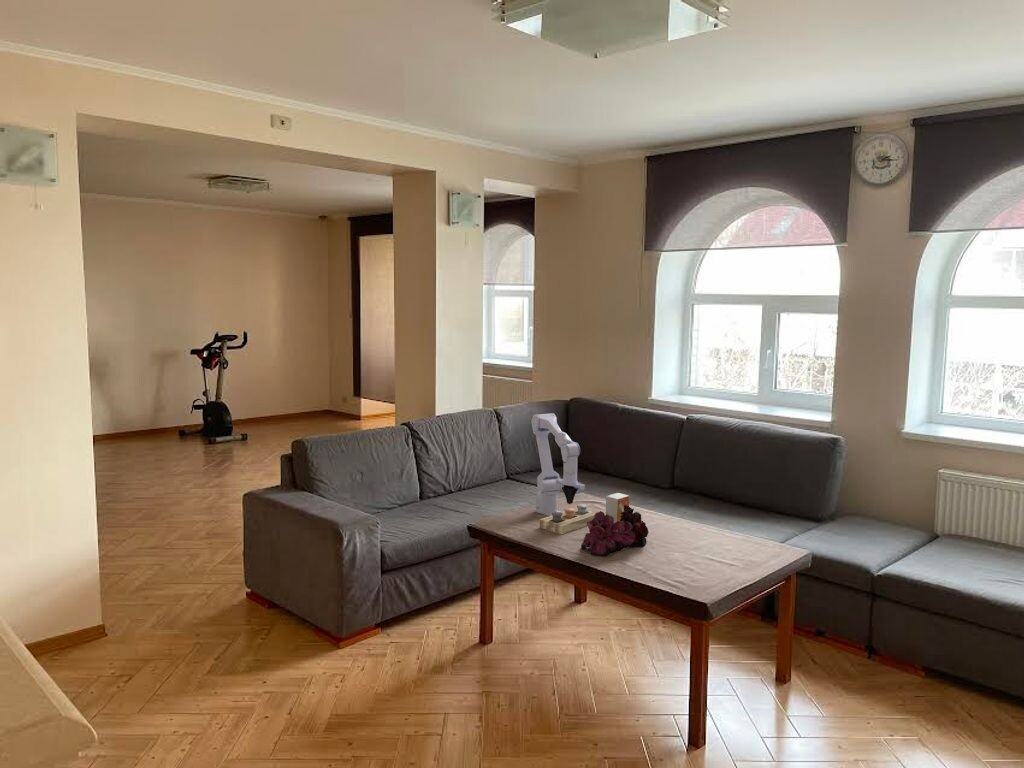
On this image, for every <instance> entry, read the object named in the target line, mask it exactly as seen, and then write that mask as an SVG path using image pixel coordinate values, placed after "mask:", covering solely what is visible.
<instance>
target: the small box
mask: <svg viewBox="0 0 1024 768" xmlns="http://www.w3.org/2000/svg"><path fill="white" fill-rule="evenodd" d="M624 505H627V506H629V507H630V495H629V494H624V493H619V492H615V493H611V494H609V495H606V496H605V515H607V514H608V515H609V516H612V517H613V519H614V522H613V523H616V522H617V521H620V519H621V518H620V517H621V516H622V515H621V514H620V513H621V512H624Z"/></svg>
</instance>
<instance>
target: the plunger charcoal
mask: <svg viewBox="0 0 1024 768" xmlns="http://www.w3.org/2000/svg"><path fill="white" fill-rule="evenodd" d="M552 516H553V522H555V523H560V522H561V516H562V512H553V513H552Z"/></svg>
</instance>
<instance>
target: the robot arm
mask: <svg viewBox="0 0 1024 768" xmlns="http://www.w3.org/2000/svg"><path fill="white" fill-rule="evenodd" d="M557 420H558V418H557V416H556V414H555V413H553V412H551V413H550V412H549V413H541V414H539V413H538V414H537V413H536V414H533V416H532V418H531V421H530V422H531V428H532V433H533V434H534V435H535V439H536V444H537V450H538V455H539V462H540V468H541V473H539V475H537V477H536V480H537V482H536V483H537V484H536V486H537V490H538V492H537V494H536V497H535V510H534V512H535V513H538V514H542V515H545V516H547V517H549V516H552V513H553V512H561V513H562V512H563V511H562V510H558V503H559V502H558V499H559V497H558V495H559V493H560V492H561V490H562V492H563V494H564V495H565V500H566V503H567V505H572V504H573V503H574V499H575V496H576V494H577V492H578V490H580V491H583V490H586V485H585V484H583V483H581V482H580V481H578V457H579V456H580V454H581V447H580V445H579V443H578V442H577V441H576V442H575V441H573V440H572V439H571V437H570V436H569V435H568V434H567V433H566V432H564V431H562V430H561V427H560V426H559V424H558V421H557ZM549 434H552V435H553V437H554V440H555V443H556V444H557V446H558V447H559V448H560V452H561V457H562V458H561V459H562V461H563V471H562V472H563V477H562V478H561V477H560V474H559V473H558V472H557V471H555V470H554V467H553V460H552V455H551V449H550V443H549V437H548V436H549Z"/></svg>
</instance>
